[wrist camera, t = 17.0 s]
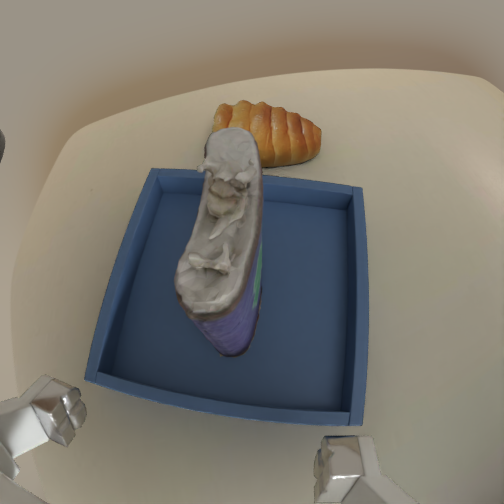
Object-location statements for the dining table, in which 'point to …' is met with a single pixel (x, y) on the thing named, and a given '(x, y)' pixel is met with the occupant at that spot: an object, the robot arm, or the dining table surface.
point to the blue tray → (271, 313)
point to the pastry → (272, 132)
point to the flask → (226, 245)
